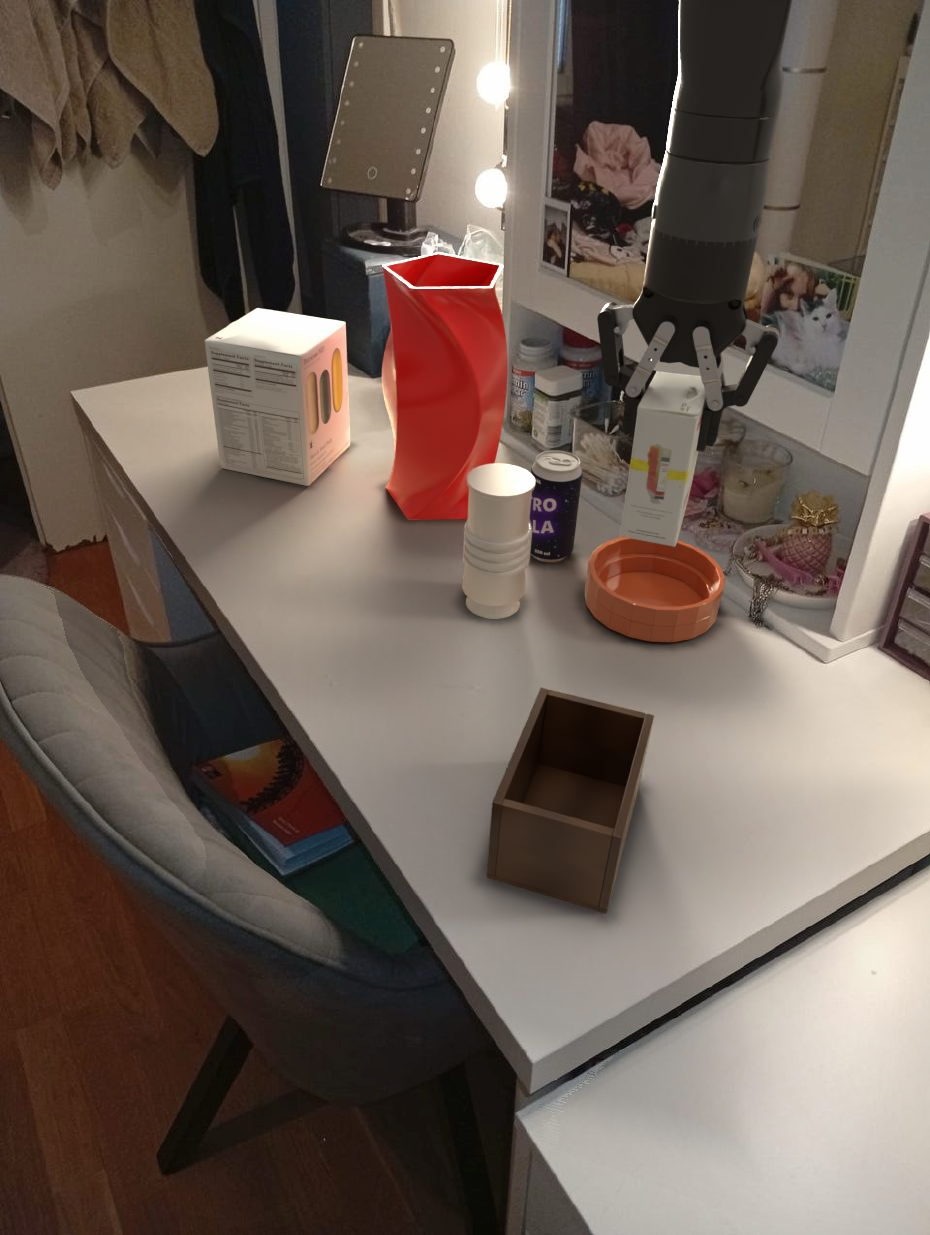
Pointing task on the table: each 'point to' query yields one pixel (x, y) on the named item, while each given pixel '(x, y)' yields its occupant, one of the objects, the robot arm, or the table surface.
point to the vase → (442, 379)
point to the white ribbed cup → (497, 539)
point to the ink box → (663, 458)
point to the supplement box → (280, 394)
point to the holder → (568, 799)
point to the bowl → (653, 589)
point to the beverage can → (554, 504)
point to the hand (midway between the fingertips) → (667, 440)
